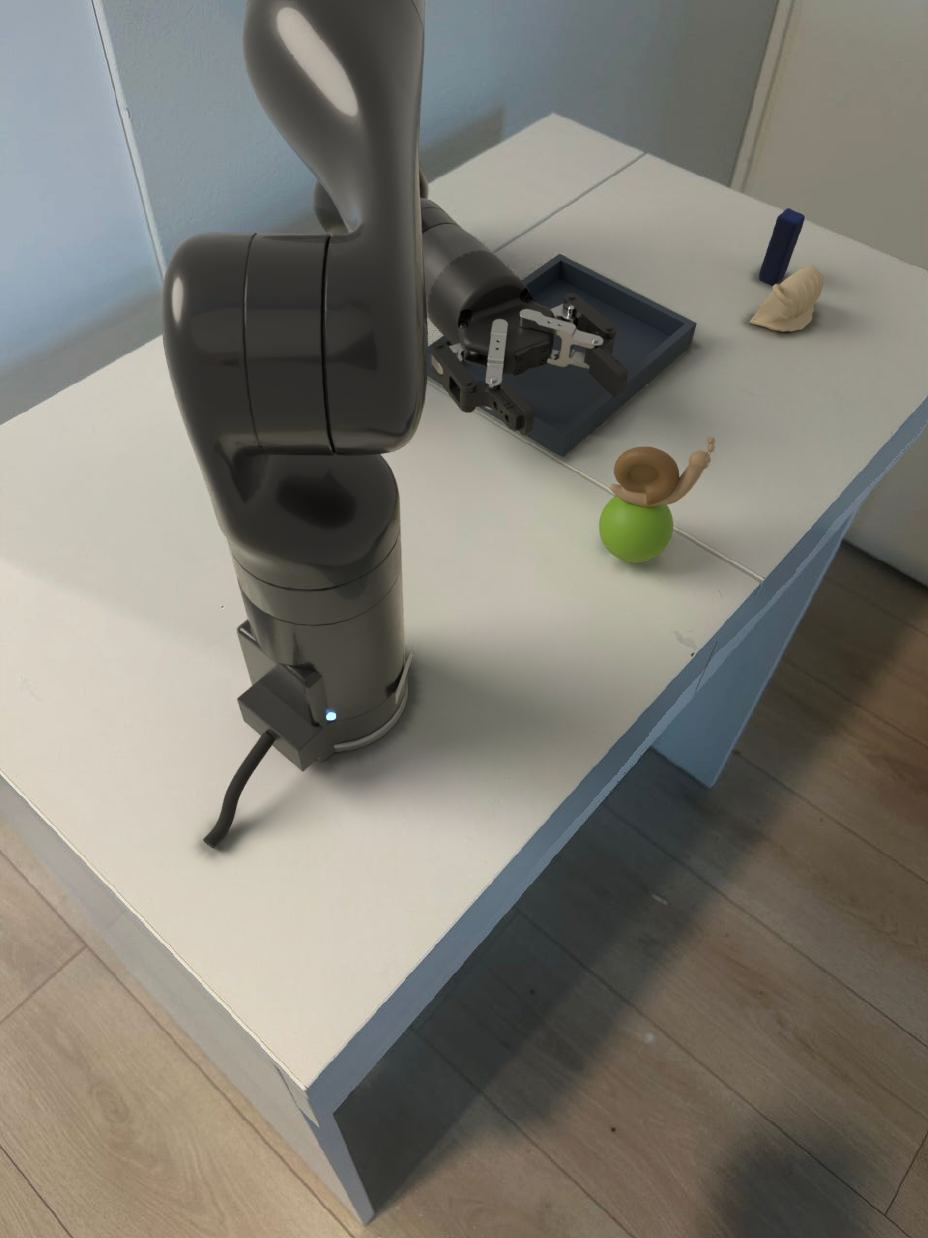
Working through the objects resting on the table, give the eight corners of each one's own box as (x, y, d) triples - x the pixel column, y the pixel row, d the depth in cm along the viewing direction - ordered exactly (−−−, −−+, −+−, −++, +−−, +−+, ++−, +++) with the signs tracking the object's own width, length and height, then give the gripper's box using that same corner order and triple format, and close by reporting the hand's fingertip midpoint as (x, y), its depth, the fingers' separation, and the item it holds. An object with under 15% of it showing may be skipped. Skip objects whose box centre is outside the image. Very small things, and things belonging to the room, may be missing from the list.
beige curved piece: (825, 313, 90) (845, 263, 86) (772, 349, 87) (790, 299, 83) (790, 293, 92) (808, 243, 88) (737, 327, 89) (753, 277, 84)
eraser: (766, 268, 94) (787, 205, 89) (786, 278, 93) (808, 214, 88) (755, 278, 93) (775, 214, 88) (774, 288, 93) (796, 224, 87)
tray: (562, 457, 78) (566, 435, 76) (422, 372, 84) (422, 349, 82) (691, 345, 87) (697, 322, 85) (556, 275, 93) (559, 252, 91)
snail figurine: (675, 585, 70) (714, 471, 61) (590, 570, 71) (615, 454, 61) (680, 531, 74) (718, 414, 64) (598, 517, 74) (624, 399, 64)
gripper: (387, 276, 73) (500, 399, 66) (539, 225, 78) (661, 335, 70) (391, 354, 80) (494, 475, 72) (531, 303, 84) (643, 411, 76)
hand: (577, 405), depth 71 cm, fingers open, 8 cm apart
